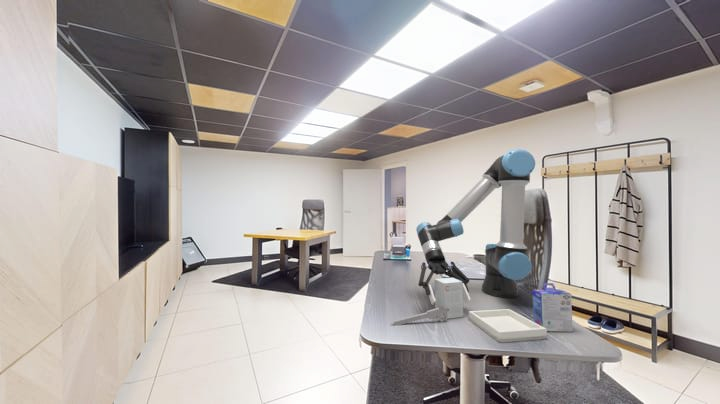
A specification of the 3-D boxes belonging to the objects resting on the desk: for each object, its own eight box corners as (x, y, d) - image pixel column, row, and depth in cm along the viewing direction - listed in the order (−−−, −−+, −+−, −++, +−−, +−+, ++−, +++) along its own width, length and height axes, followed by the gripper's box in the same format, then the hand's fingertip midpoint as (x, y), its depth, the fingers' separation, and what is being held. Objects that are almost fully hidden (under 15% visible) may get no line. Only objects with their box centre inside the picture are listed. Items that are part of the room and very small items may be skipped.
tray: (508, 317, 94) (508, 308, 94) (546, 338, 78) (546, 328, 79) (468, 319, 92) (468, 311, 92) (499, 342, 76) (499, 332, 76)
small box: (453, 310, 100) (452, 277, 100) (463, 317, 94) (463, 281, 94) (434, 312, 98) (434, 278, 98) (443, 319, 92) (443, 283, 92)
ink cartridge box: (560, 324, 88) (560, 282, 89) (574, 332, 83) (573, 287, 83) (531, 324, 89) (531, 281, 89) (542, 331, 83) (542, 286, 83)
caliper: (446, 321, 91) (445, 303, 91) (447, 322, 90) (447, 304, 90) (390, 325, 88) (390, 306, 88) (391, 326, 87) (391, 307, 87)
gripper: (457, 258, 114) (478, 304, 98) (403, 259, 110) (416, 308, 95) (463, 247, 109) (486, 295, 93) (407, 249, 105) (421, 298, 90)
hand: (451, 302), depth 94 cm, fingers open, 13 cm apart
